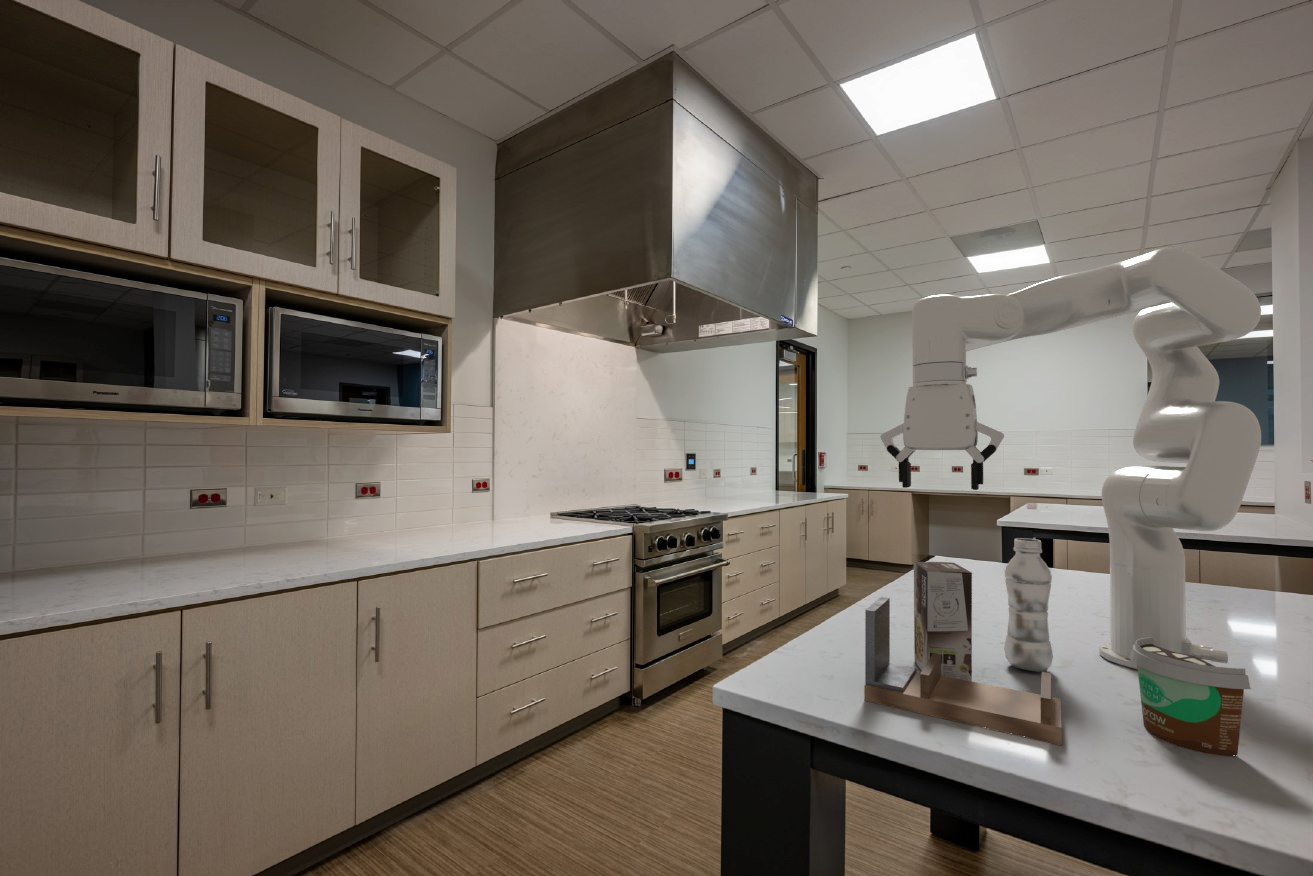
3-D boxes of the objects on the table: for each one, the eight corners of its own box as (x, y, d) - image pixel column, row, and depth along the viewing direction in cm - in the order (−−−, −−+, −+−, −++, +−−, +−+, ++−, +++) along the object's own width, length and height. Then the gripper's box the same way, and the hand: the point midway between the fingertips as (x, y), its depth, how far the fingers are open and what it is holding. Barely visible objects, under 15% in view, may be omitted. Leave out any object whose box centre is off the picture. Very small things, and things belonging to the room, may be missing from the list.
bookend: (915, 671, 86) (915, 601, 87) (902, 692, 79) (902, 615, 79) (881, 665, 89) (881, 597, 89) (865, 684, 82) (865, 609, 82)
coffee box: (974, 684, 87) (973, 572, 88) (926, 681, 89) (926, 570, 89) (956, 663, 96) (955, 561, 97) (912, 660, 97) (912, 559, 98)
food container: (1105, 715, 77) (1104, 636, 78) (1149, 714, 78) (1148, 636, 78) (1199, 765, 65) (1198, 671, 65) (1251, 763, 66) (1250, 670, 66)
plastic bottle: (1049, 665, 96) (1048, 538, 96) (1056, 679, 89) (1055, 544, 90) (1002, 659, 98) (1001, 535, 99) (1006, 672, 92) (1006, 541, 93)
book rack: (1060, 714, 77) (1060, 674, 78) (1061, 745, 69) (1061, 701, 69) (881, 677, 89) (881, 643, 90) (864, 700, 81) (864, 663, 81)
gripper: (1005, 376, 92) (1006, 489, 91) (886, 383, 101) (886, 485, 101) (1001, 370, 86) (1002, 491, 85) (875, 378, 95) (875, 487, 95)
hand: (939, 488), depth 93 cm, fingers open, 9 cm apart
